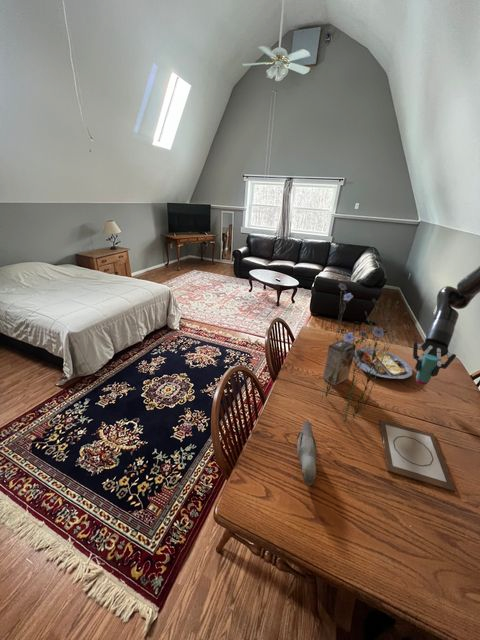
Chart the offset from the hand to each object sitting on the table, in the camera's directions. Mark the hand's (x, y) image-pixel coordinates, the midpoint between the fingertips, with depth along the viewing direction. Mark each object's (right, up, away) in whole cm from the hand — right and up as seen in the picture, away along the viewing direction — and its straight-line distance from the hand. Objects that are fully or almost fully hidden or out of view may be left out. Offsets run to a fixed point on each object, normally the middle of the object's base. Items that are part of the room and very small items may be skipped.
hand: (425, 373), depth 99 cm
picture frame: (-17, -20, -18) cm, 32 cm away
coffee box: (-29, -5, +13) cm, 32 cm away
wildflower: (-33, -13, -4) cm, 36 cm away
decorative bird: (-50, -21, -23) cm, 59 cm away
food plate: (-5, -1, +23) cm, 24 cm away
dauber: (+1, -4, +4) cm, 6 cm away
